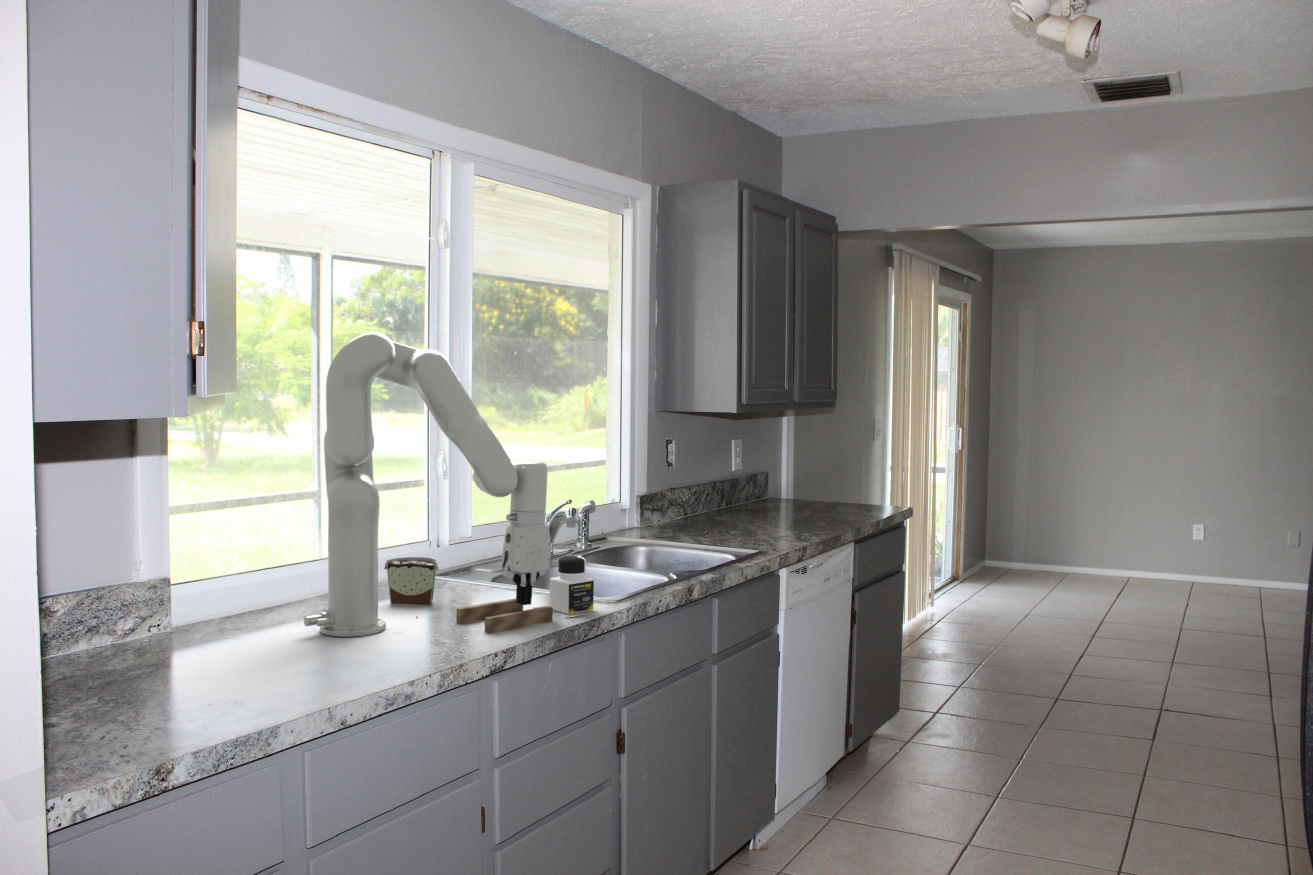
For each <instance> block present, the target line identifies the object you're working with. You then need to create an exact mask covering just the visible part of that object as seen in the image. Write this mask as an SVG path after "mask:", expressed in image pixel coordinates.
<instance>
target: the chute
mask: <svg viewBox="0 0 1313 875" xmlns="http://www.w3.org/2000/svg"><path fill="white" fill-rule="evenodd" d="M539 607H540V606H539ZM553 611H554V610H553V607H550V606H546V607H540V608H535V609H534V608H530V609H525V610H524V605H522V604H519V603H517V602H516V597H515V598H510V599H504V600H503V599H502V600H498V601H492V602H487V603H480V604H474V605H470V606H469V605H468V606H463V607H457V608H456V615H455V616H456V618H455V619H456V620H455V621H456V622H455V623H457V624H466V623H472V622H478V621H484V633H485V634H488V635H490V634H495V633H500V632H504V631H509V630H510V631H511V630H514V629H515V630H516V629H519V628H525V627H531V626H534V625H541V624H545V623H551V622H553V617H554V616H553Z"/></svg>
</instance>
